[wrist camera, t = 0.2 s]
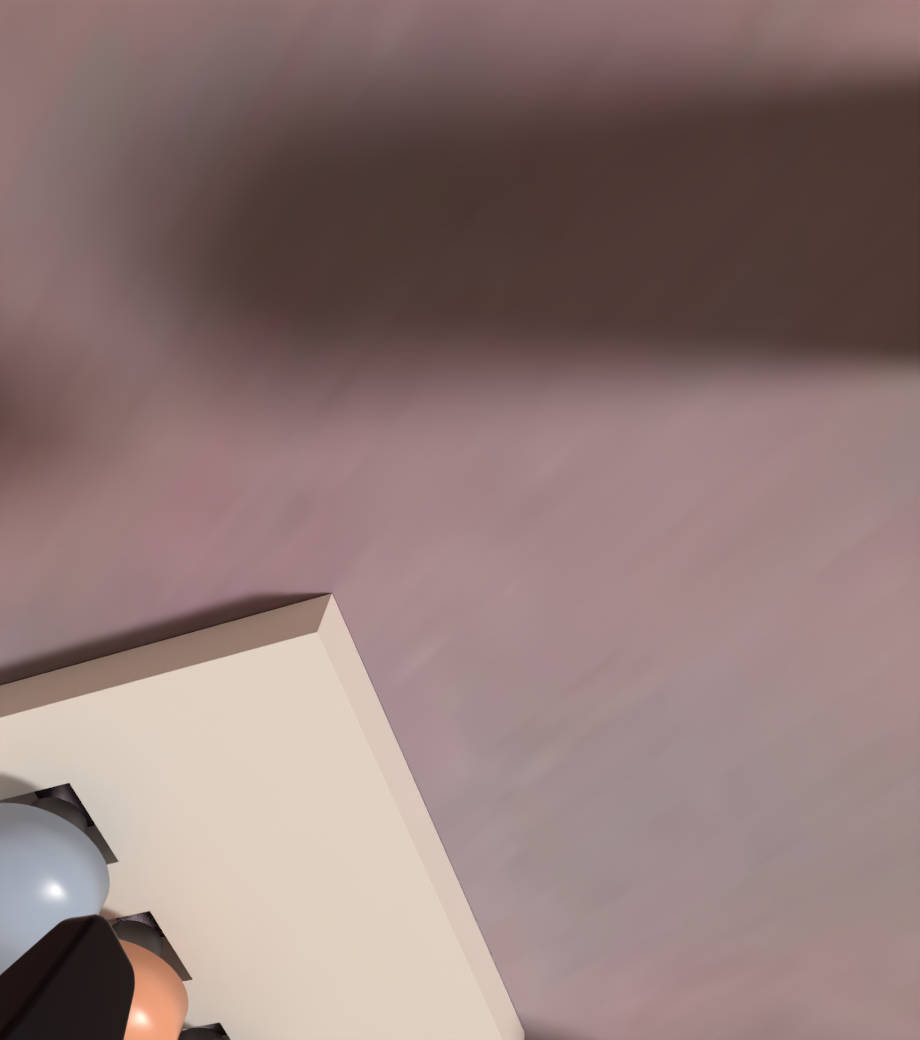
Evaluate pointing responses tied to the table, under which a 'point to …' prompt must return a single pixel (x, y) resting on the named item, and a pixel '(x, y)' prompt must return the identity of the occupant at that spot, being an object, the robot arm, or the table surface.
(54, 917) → the slate button
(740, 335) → the table surface
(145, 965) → the terracotta button
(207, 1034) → the charcoal button
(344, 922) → the panel
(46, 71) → the table surface
